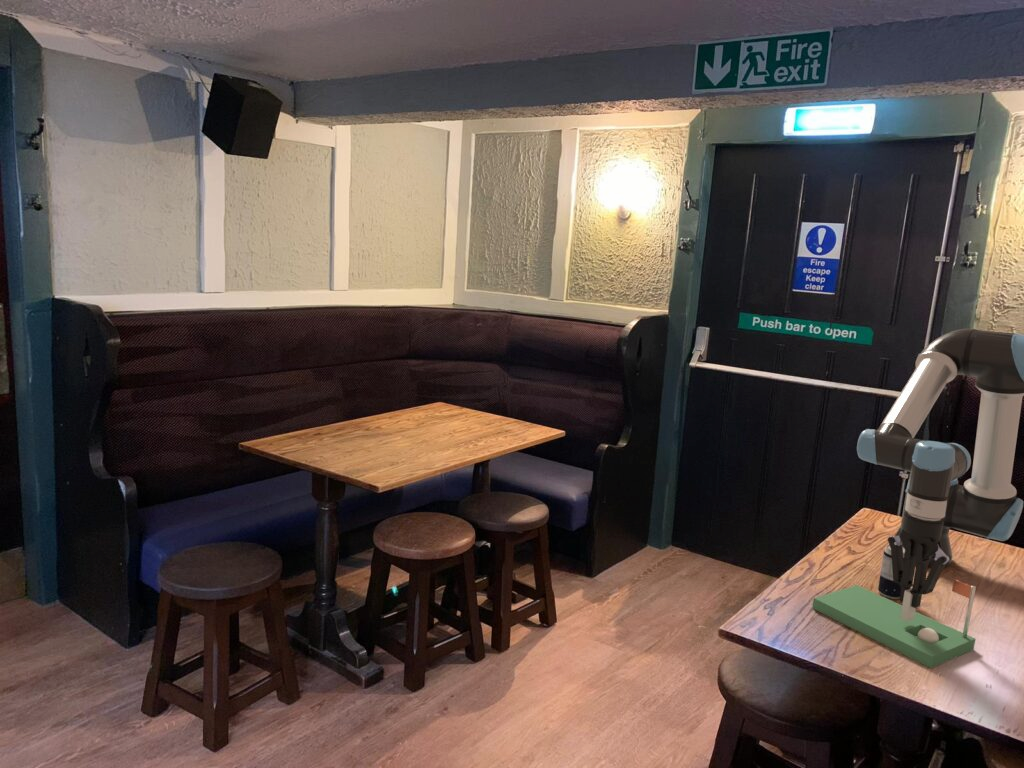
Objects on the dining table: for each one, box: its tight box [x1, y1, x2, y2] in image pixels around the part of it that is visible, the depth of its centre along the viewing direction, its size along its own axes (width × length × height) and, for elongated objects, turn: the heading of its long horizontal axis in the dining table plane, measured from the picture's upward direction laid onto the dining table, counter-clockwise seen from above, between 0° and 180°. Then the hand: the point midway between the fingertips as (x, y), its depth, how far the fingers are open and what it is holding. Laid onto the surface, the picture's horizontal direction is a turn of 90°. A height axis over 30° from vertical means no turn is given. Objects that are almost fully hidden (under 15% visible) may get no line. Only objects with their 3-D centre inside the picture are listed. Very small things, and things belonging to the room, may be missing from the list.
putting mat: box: [812, 584, 976, 669], centre depth 171 cm, size 16×28×2 cm, turn 32°
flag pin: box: [951, 579, 977, 638], centre depth 165 cm, size 1×4×14 cm, turn 32°
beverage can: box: [877, 544, 905, 600], centre depth 187 cm, size 6×6×12 cm
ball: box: [917, 628, 939, 644], centre depth 164 cm, size 4×4×4 cm
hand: (907, 618), depth 168 cm, fingers closed
